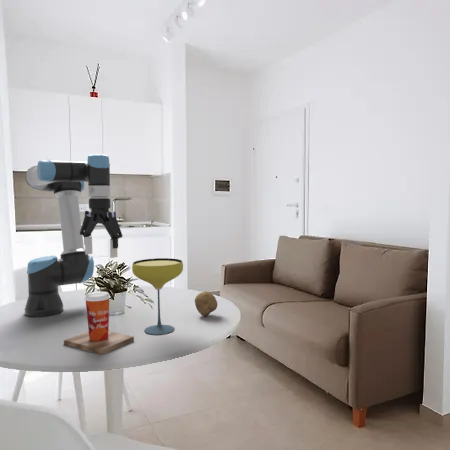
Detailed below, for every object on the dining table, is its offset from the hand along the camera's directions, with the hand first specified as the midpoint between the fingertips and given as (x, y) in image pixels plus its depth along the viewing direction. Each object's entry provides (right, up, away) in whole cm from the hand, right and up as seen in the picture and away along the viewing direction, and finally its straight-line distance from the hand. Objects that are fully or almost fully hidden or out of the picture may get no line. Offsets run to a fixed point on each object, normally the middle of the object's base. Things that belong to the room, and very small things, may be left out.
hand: (101, 255), depth 151 cm
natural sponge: (+38, -26, +16) cm, 48 cm away
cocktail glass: (+22, -27, -1) cm, 35 cm away
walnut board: (+4, -28, -13) cm, 31 cm away
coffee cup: (+4, -27, -14) cm, 30 cm away
